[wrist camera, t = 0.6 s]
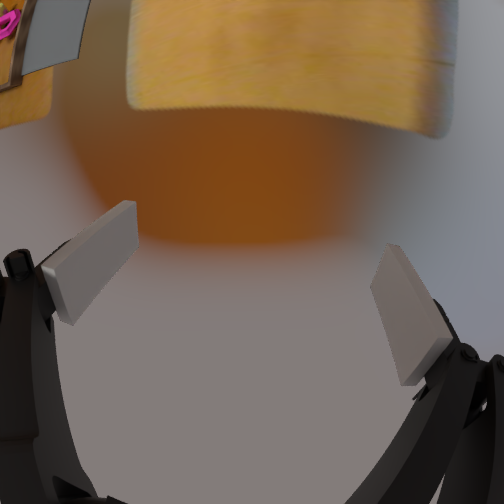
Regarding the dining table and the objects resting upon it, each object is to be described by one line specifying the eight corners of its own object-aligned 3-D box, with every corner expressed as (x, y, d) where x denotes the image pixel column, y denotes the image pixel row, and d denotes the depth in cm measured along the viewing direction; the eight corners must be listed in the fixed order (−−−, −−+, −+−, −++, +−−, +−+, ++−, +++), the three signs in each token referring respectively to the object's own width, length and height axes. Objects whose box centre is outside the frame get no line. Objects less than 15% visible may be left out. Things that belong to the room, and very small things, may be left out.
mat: (44, -17, 20) (43, -18, 19) (106, -45, 19) (105, -46, 19) (22, 75, 32) (21, 75, 31) (78, 58, 31) (77, 58, 31)
